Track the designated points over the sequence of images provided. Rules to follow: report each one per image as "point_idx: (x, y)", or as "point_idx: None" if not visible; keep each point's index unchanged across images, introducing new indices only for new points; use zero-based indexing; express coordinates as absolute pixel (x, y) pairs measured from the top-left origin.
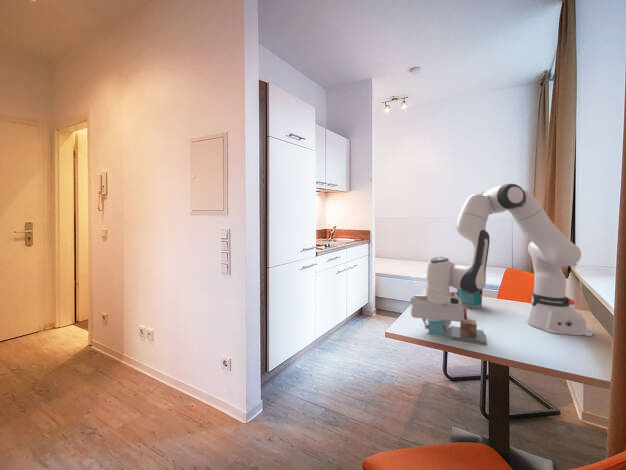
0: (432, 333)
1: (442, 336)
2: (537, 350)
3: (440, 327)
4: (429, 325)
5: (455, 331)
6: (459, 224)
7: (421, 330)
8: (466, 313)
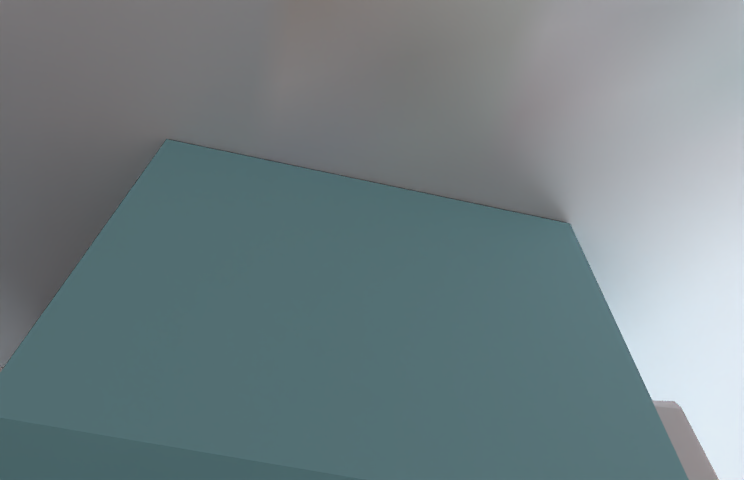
0: (466, 226)
1: (178, 146)
2: None
3: (176, 326)
4: (638, 423)
5: None
6: None
7: None
8: None
